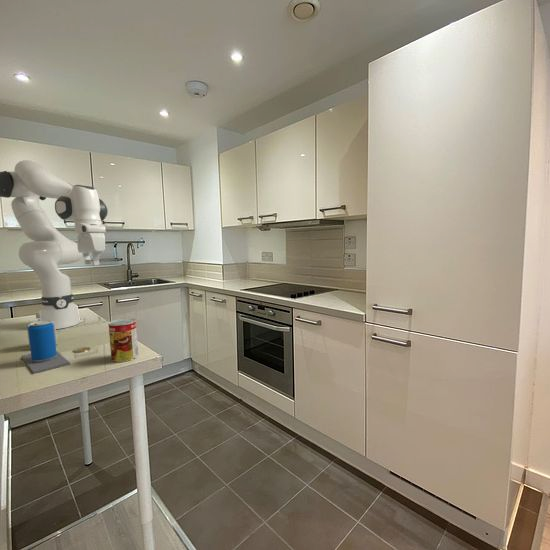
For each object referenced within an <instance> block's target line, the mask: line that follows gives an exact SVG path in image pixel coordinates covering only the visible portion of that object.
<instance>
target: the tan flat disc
mask: <svg viewBox="0 0 550 550" xmlns="http://www.w3.org/2000/svg"><path fill="white" fill-rule="evenodd" d="M89 350H91V347H89V346H88V347H87V346H86V347H85V346H84V347H79V348H75V349H74V350H72V352H73V353H74V354H75V353H84V352H88V351H89Z"/></svg>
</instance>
